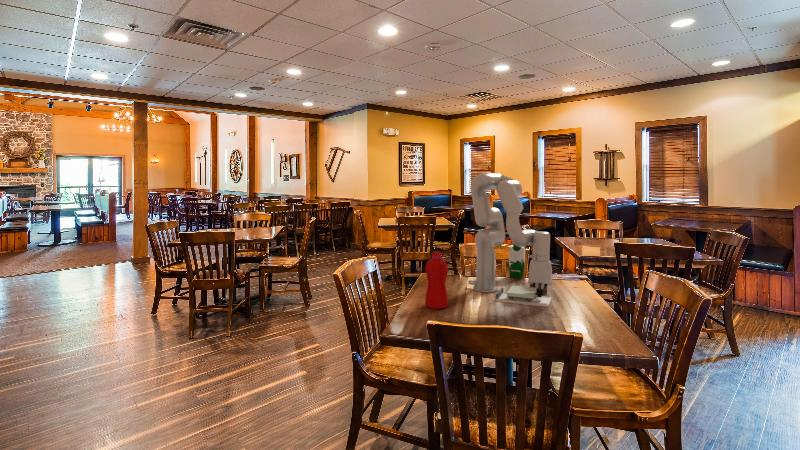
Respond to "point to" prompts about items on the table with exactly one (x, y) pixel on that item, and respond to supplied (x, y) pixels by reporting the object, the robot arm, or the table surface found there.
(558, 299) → the table surface
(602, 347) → the table surface
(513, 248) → the milk carton
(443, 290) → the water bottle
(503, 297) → the rail track
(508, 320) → the table surface
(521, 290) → the pale green flat box
